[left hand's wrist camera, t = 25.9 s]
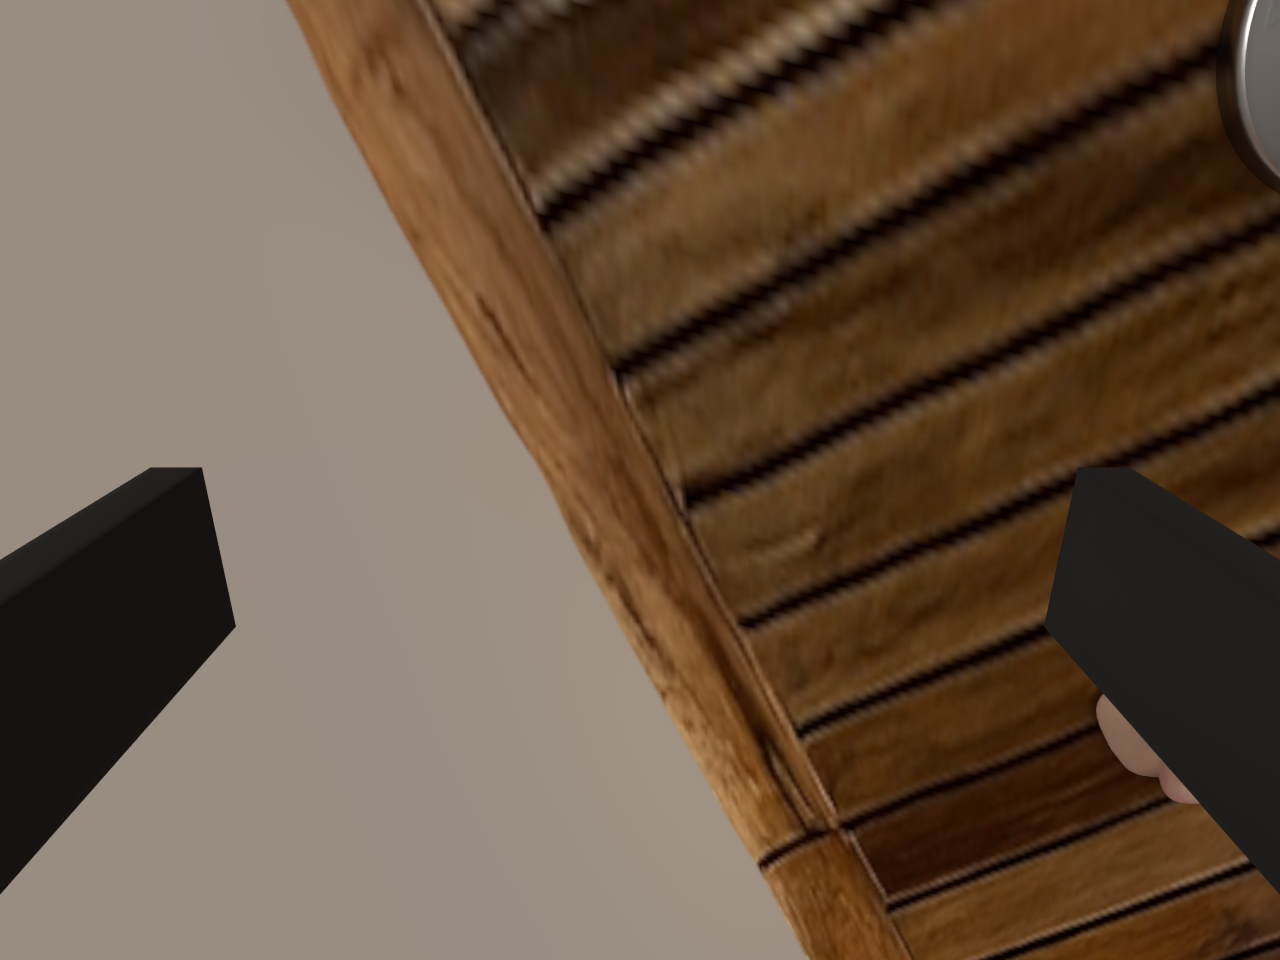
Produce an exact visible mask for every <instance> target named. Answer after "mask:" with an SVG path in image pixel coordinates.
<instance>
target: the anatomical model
mask: <svg viewBox="0 0 1280 960" xmlns="http://www.w3.org/2000/svg"><path fill="white" fill-rule="evenodd" d="M1096 714H1097V719H1098V722H1099V725H1100V728H1101V730H1102V732H1103V734H1104V736H1105V738H1106V740H1107V742H1108V744H1109V746H1110V748H1111V750H1112V751H1113V752H1114V754H1115V755H1116V756H1117V757H1118V759H1119V760H1120V761H1121V763H1122V764H1123V765H1124V766H1125V767H1126V768H1127V769H1129V770H1130V771H1132V772H1134V773H1136V774H1139V775H1143V776H1150V777H1159V779H1160V784H1161V787H1162V789H1163V791H1164V792H1165V794H1166V795H1167V796H1168V797H1169V798H1171V799H1172V800H1174V801H1176V802H1180V803H1188V804H1200V803H1199V802H1198V801H1197V800H1196V799H1195V797H1194V796H1193V795H1192V794H1191V793H1190V792H1189V791H1188V789H1187V788H1186V787H1185V786H1184V785H1183V784H1182V783H1181V782H1180V780H1179V779H1178V778H1177V777H1176V776H1175V775H1174V774H1173V772H1172V771H1171V770H1170V769H1169V768H1168V767H1167V766H1166V764H1165V763H1164V762H1163V761H1162V760H1161V759H1160V758H1159V757H1158V755H1157V754H1156V753H1155V752H1154V751H1153V750H1152V749H1151V747H1150V746H1149V745H1148V744H1147V743H1146V742H1145V741H1144V739H1143V738H1142V737H1141V736H1140V735H1139V734H1138V733H1137V732H1136V730H1135V729H1134V728H1133V727H1132V726H1131V725H1130V724H1129V722H1128V721H1127V720H1126V719H1125V718H1124V717H1123V716H1122V714H1121V713H1120V712H1119V711H1118V710H1117V709H1116V708H1115V707H1114V705H1113V704H1112V703H1111V702H1110V701H1109V700H1108V699H1107V697H1106V696H1105V695H1104V694H1102V696H1101V697H1100V699H1099V701H1098V703H1097V707H1096Z"/></svg>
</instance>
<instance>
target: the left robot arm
mask: <svg viewBox="0 0 1280 960" xmlns="http://www.w3.org/2000/svg"><path fill="white" fill-rule="evenodd" d="M1216 81H1217V95H1218V102H1219V108H1220V112H1221V116H1222V121H1223V124H1224V126H1225V129H1226V132H1227V135H1228V137H1229V139H1230V141H1231V143H1232V145H1233V147H1234V149H1235V151H1236V152H1237V154H1238V155H1239V157H1240V158H1241V160H1242V161H1243V162H1244V163H1245V165H1246V166H1247V167H1248V168H1249V169H1250V170H1251V171H1252V172H1253V173H1254V174H1255V175H1256V176H1257V177H1258V178H1259V179H1260V180H1262V181H1263V182H1264V183H1266V184H1267V185H1269V186H1270V187H1272V188H1273V189H1275V190H1277V191H1279V192H1280V0H1230V1H1229V5H1228V8H1227V11H1226V14H1225V17H1224V21H1223V25H1222V30H1221V34H1220V40H1219V46H1218V53H1217V68H1216ZM235 627H236V625H235V620H234V616H233V611H232V606H231V602H230V597H229V592H228V588H227V583H226V579H225V574H224V569H223V564H222V560H221V555H220V550H219V546H218V541H217V536H216V531H215V527H214V522H213V517H212V513H211V508H210V503H209V499H208V494H207V489H206V485H205V480H204V475H203V471H202V468H149V469H148V470H146V471H144V472H143V473H141V474H139V475H138V476H136V477H134V478H133V479H131V480H130V481H128V482H126V483H125V484H123V485H121V486H120V487H118V488H116V489H115V490H113V491H112V492H110V493H108V494H107V495H105V496H103V497H102V498H100V499H99V500H97V501H95V502H94V503H92V504H90V505H89V506H87V507H86V508H84V509H82V510H81V511H79V512H77V513H76V514H74V515H72V516H71V517H69V518H68V519H66V520H64V521H63V522H61V523H59V524H58V525H56V526H55V527H53V528H51V529H50V530H48V531H46V532H45V533H43V534H42V535H40V536H38V537H37V538H35V539H33V540H32V541H30V542H28V543H27V544H25V545H24V546H22V547H20V548H19V549H17V550H15V551H14V552H12V553H11V554H9V555H7V556H6V557H4V558H3V559H1V560H0V894H1V893H2V892H3V891H4V889H5V888H6V887H7V886H8V885H9V884H10V883H11V881H12V880H13V879H14V878H15V877H16V876H17V875H18V874H19V872H20V871H21V870H22V869H23V868H24V867H25V866H26V864H27V863H28V862H29V861H30V860H31V859H32V858H33V857H34V855H35V854H36V853H37V852H38V851H39V850H40V849H41V847H42V846H43V845H44V844H45V843H46V842H47V841H48V839H49V838H50V837H51V836H52V835H53V834H54V833H55V832H56V830H57V829H58V828H59V827H60V826H61V825H62V824H63V822H64V821H65V820H66V819H67V818H68V817H69V816H70V814H71V813H72V812H73V811H74V810H75V809H76V808H77V807H78V805H79V804H80V803H81V802H82V801H83V800H84V799H85V797H86V796H87V795H88V794H89V793H90V792H91V791H92V789H93V788H94V787H95V786H96V785H97V784H98V783H99V782H100V780H101V779H102V778H103V777H104V776H105V775H106V774H107V772H108V771H109V770H110V769H111V768H112V767H113V766H114V764H115V763H116V762H117V761H118V760H119V759H120V758H121V757H122V755H123V754H124V753H125V752H126V751H127V750H128V749H129V747H130V746H131V745H132V744H133V743H134V742H135V741H136V739H137V738H138V737H139V736H140V735H141V734H142V733H143V732H144V730H145V729H146V728H147V727H148V726H149V725H150V724H151V722H152V721H153V720H154V719H155V718H156V717H157V716H158V714H159V713H160V712H161V711H162V710H163V709H164V708H165V707H166V705H167V704H168V703H169V702H170V701H171V700H172V699H173V697H174V696H175V695H176V694H177V693H178V692H179V691H180V689H181V688H182V687H183V686H184V685H185V684H186V683H187V681H188V680H189V679H190V678H191V677H192V676H193V675H194V674H195V672H196V671H197V670H198V669H199V668H200V667H201V666H202V664H203V663H204V662H205V661H206V660H207V659H208V658H209V656H210V655H211V654H212V653H213V652H214V651H215V650H216V648H217V647H218V646H219V645H220V644H221V643H222V642H223V641H224V639H225V638H226V637H227V636H228V635H229V634H230V633H231V631H232V630H233V629H234V628H235ZM1044 627H1045V628H1046V629H1047V630H1048V632H1049V633H1050V634H1051V635H1052V636H1053V637H1054V638H1055V639H1056V641H1057V642H1058V643H1059V644H1060V645H1061V646H1062V647H1063V649H1064V650H1065V651H1066V652H1067V653H1068V654H1069V655H1070V657H1071V658H1072V659H1073V660H1074V661H1075V662H1076V663H1077V664H1078V666H1079V667H1080V668H1081V669H1082V670H1083V671H1084V672H1085V674H1086V675H1087V676H1088V677H1089V678H1090V679H1091V680H1092V682H1093V683H1094V684H1095V685H1096V686H1097V687H1098V688H1099V689H1100V691H1101V692H1102V693H1103V694H1104V695H1105V696H1106V697H1107V699H1108V700H1109V701H1110V702H1111V703H1112V704H1113V705H1114V707H1115V708H1116V709H1117V710H1118V711H1119V712H1120V713H1121V714H1122V716H1123V717H1124V718H1125V719H1126V720H1127V721H1128V722H1129V724H1130V725H1131V726H1132V727H1133V728H1134V729H1135V730H1136V732H1137V733H1138V734H1139V735H1140V736H1141V737H1142V738H1143V739H1144V741H1145V742H1146V743H1147V744H1148V745H1149V746H1150V747H1151V749H1152V750H1153V751H1154V752H1155V753H1156V754H1157V755H1158V757H1159V758H1160V759H1161V760H1162V761H1163V762H1164V763H1165V764H1166V766H1167V767H1168V768H1169V769H1170V770H1171V771H1172V772H1173V774H1174V775H1175V776H1176V777H1177V778H1178V779H1179V780H1180V782H1181V783H1182V784H1183V785H1184V786H1185V787H1186V788H1187V789H1188V791H1189V792H1190V793H1191V794H1192V795H1193V796H1194V797H1195V799H1196V800H1197V801H1198V802H1199V803H1200V804H1201V805H1202V807H1203V808H1204V809H1205V810H1206V811H1207V812H1208V813H1209V814H1210V816H1211V817H1212V818H1213V819H1214V820H1215V821H1216V822H1217V824H1218V825H1219V826H1220V827H1221V828H1222V829H1223V830H1224V832H1225V833H1226V834H1227V835H1228V836H1229V837H1230V838H1231V839H1232V841H1233V842H1234V843H1235V844H1236V845H1237V846H1238V847H1239V849H1240V850H1241V851H1242V852H1243V853H1244V854H1245V855H1246V857H1247V858H1248V859H1249V860H1250V861H1251V862H1252V863H1253V864H1254V866H1255V867H1256V868H1257V869H1258V870H1259V871H1260V872H1261V874H1262V875H1263V876H1264V877H1265V878H1266V879H1267V880H1268V882H1269V883H1270V884H1271V885H1272V886H1273V887H1274V888H1275V889H1276V891H1277V892H1278V893H1279V894H1280V560H1279V559H1278V558H1276V557H1274V556H1273V555H1271V554H1269V553H1268V552H1266V551H1265V550H1263V549H1261V548H1260V547H1258V546H1256V545H1255V544H1253V543H1252V542H1250V541H1248V540H1247V539H1245V538H1243V537H1242V536H1240V535H1238V534H1237V533H1235V532H1234V531H1232V530H1230V529H1229V528H1227V527H1225V526H1224V525H1222V524H1221V523H1219V522H1217V521H1216V520H1214V519H1212V518H1211V517H1209V516H1208V515H1206V514H1204V513H1203V512H1201V511H1199V510H1198V509H1196V508H1194V507H1193V506H1191V505H1190V504H1188V503H1186V502H1185V501H1183V500H1181V499H1180V498H1178V497H1177V496H1175V495H1173V494H1172V493H1170V492H1168V491H1167V490H1165V489H1164V488H1162V487H1160V486H1159V485H1157V484H1155V483H1154V482H1152V481H1150V480H1149V479H1147V478H1146V477H1144V476H1142V475H1141V474H1139V473H1137V472H1136V471H1134V470H1133V469H1131V468H1078V471H1077V475H1076V480H1075V485H1074V489H1073V494H1072V499H1071V503H1070V508H1069V513H1068V517H1067V522H1066V527H1065V531H1064V536H1063V541H1062V546H1061V550H1060V555H1059V560H1058V564H1057V569H1056V574H1055V578H1054V583H1053V588H1052V592H1051V597H1050V602H1049V606H1048V611H1047V616H1046V620H1045V625H1044Z"/></svg>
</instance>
